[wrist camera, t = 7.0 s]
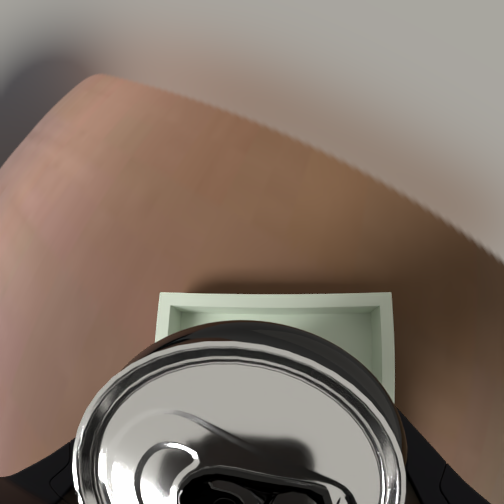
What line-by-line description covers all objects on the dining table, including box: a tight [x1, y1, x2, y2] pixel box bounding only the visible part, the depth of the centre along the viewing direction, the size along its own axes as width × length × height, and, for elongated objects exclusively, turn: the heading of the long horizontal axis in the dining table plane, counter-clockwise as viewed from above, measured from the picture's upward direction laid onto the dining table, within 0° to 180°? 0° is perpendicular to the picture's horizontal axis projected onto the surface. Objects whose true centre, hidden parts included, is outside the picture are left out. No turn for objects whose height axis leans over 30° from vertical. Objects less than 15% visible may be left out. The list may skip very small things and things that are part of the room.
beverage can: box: [73, 320, 408, 504], centre depth 9 cm, size 7×7×12 cm
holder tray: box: [155, 292, 395, 403], centre depth 15 cm, size 12×12×2 cm
